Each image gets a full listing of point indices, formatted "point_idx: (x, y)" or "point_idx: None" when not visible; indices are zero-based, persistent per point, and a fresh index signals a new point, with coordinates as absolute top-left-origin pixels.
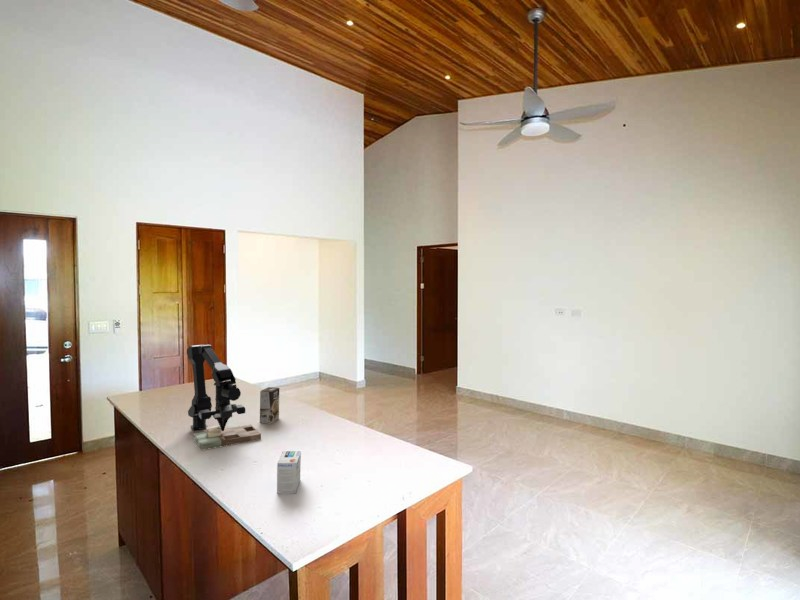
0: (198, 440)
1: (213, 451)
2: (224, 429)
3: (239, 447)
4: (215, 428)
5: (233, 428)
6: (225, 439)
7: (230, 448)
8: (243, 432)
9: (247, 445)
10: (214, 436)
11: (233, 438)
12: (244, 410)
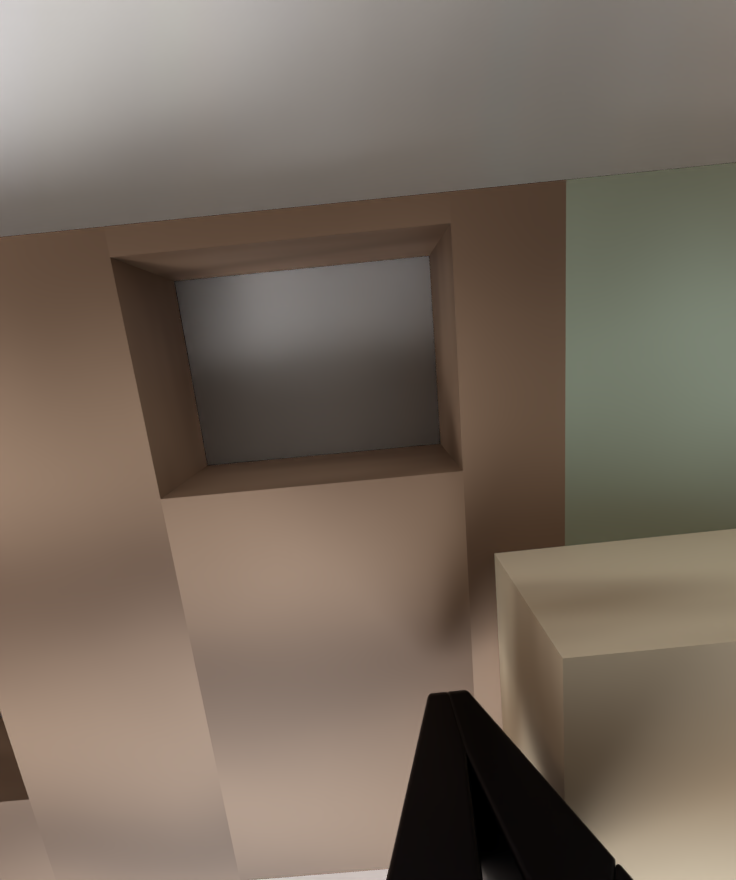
0: None
1: (696, 11)
2: (370, 839)
3: (206, 7)
4: (702, 739)
5: (208, 830)
6: (455, 241)
7: (376, 33)
8: (25, 543)
9: (46, 56)
10: (626, 541)
11: (270, 227)
12: None
